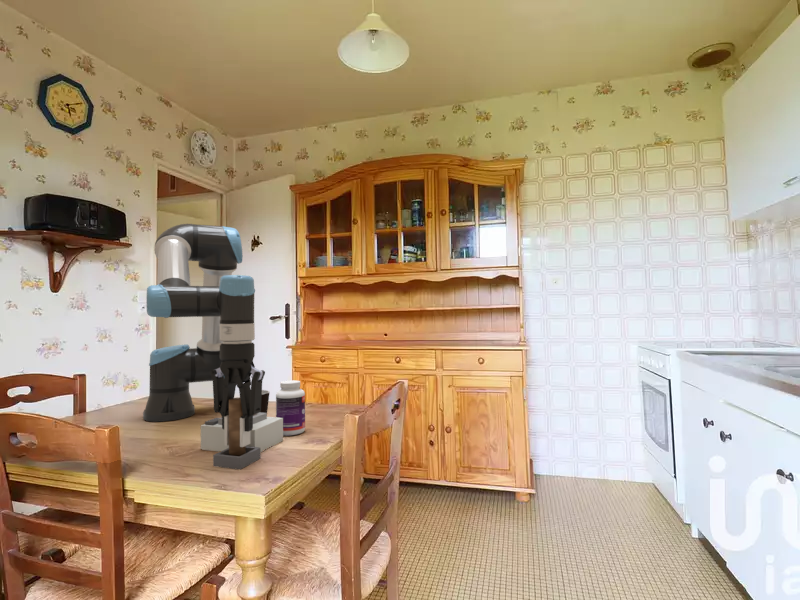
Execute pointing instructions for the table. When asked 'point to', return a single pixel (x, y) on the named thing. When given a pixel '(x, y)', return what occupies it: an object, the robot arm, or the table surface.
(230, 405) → the dowel
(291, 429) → the pill bottle
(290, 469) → the table surface
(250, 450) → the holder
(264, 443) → the white pedestal box
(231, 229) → the robot arm
